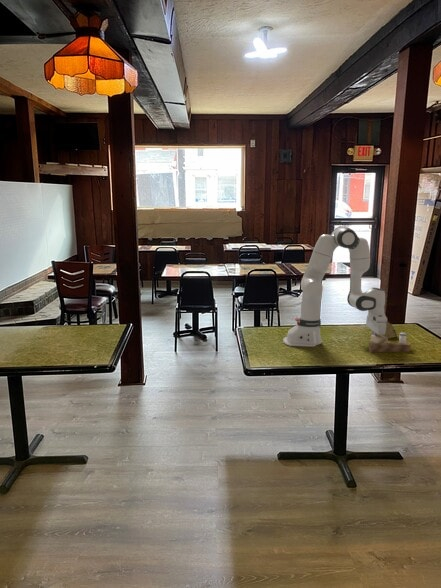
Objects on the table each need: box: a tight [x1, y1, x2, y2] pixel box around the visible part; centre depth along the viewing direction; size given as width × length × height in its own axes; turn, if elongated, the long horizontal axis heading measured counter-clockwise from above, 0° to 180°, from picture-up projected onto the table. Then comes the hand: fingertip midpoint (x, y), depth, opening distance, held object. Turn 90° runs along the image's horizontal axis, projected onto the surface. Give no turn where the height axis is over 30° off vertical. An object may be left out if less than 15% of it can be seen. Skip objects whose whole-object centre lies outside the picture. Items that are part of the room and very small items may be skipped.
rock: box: [382, 321, 398, 339], centre depth 261 cm, size 11×9×10 cm
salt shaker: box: [398, 331, 408, 343], centre depth 244 cm, size 4×4×8 cm
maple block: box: [369, 334, 389, 343], centre depth 248 cm, size 6×8×5 cm
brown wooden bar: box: [368, 342, 412, 353], centre depth 238 cm, size 22×3×4 cm, turn 92°
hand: (374, 338), depth 254 cm, fingers closed
